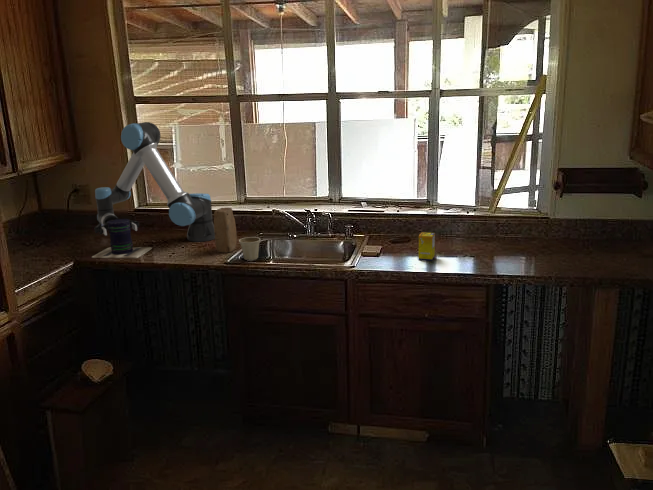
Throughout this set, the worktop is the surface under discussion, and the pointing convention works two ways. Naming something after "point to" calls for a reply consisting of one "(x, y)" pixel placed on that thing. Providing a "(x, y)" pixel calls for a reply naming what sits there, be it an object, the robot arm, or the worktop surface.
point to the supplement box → (426, 246)
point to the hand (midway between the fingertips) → (121, 230)
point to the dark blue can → (120, 236)
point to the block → (225, 230)
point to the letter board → (135, 254)
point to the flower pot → (250, 247)
